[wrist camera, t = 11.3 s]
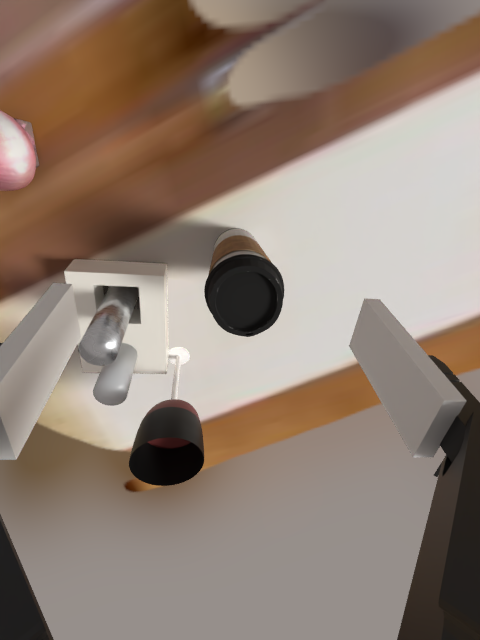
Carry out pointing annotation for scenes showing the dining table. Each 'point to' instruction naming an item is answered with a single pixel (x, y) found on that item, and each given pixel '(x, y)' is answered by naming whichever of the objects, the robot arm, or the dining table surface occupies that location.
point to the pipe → (108, 326)
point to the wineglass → (169, 438)
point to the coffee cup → (243, 285)
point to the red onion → (16, 153)
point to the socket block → (143, 328)
